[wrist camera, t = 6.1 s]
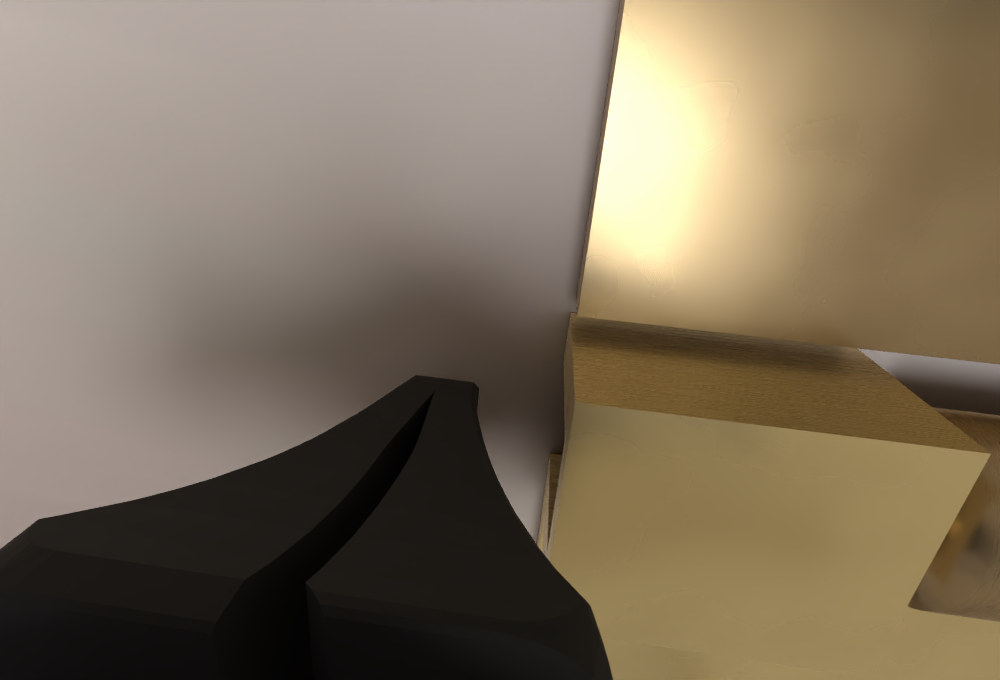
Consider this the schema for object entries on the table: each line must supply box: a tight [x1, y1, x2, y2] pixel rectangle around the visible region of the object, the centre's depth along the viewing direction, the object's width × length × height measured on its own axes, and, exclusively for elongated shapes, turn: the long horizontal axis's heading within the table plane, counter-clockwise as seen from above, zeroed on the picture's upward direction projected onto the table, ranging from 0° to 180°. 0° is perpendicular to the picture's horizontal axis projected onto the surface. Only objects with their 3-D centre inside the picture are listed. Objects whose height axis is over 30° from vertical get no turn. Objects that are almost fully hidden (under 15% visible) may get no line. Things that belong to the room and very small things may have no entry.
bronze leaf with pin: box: [576, 0, 1000, 622], centre depth 8 cm, size 12×10×4 cm
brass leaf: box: [537, 313, 1000, 680], centre depth 11 cm, size 12×11×4 cm
